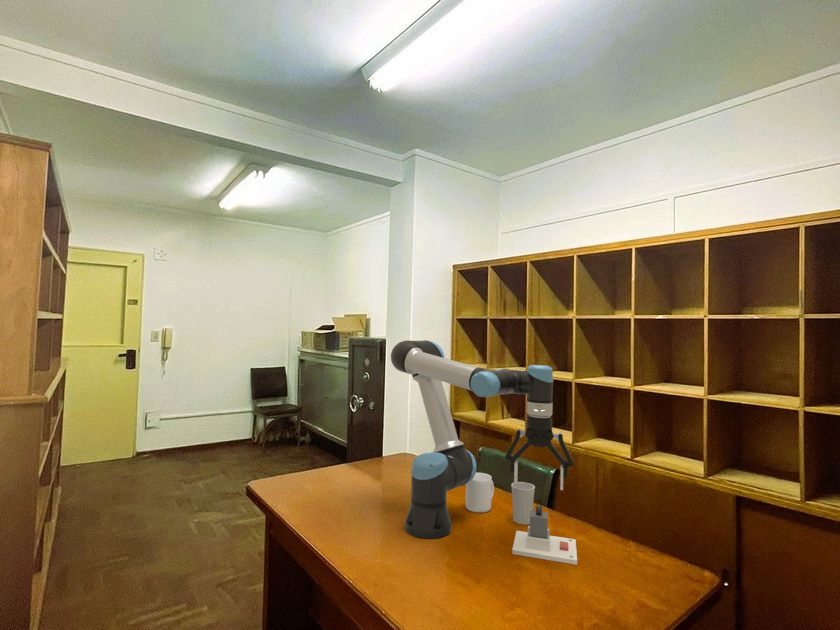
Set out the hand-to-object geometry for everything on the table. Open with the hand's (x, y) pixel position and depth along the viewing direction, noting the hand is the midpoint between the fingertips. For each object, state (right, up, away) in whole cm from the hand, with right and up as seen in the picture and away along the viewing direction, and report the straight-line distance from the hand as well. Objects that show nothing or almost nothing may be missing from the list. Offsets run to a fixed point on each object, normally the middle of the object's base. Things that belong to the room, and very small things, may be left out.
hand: (538, 486), depth 137 cm
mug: (-14, -20, +30) cm, 39 cm away
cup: (-1, -20, +19) cm, 27 cm away
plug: (0, -18, -1) cm, 18 cm away
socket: (+1, -18, -2) cm, 18 cm away
